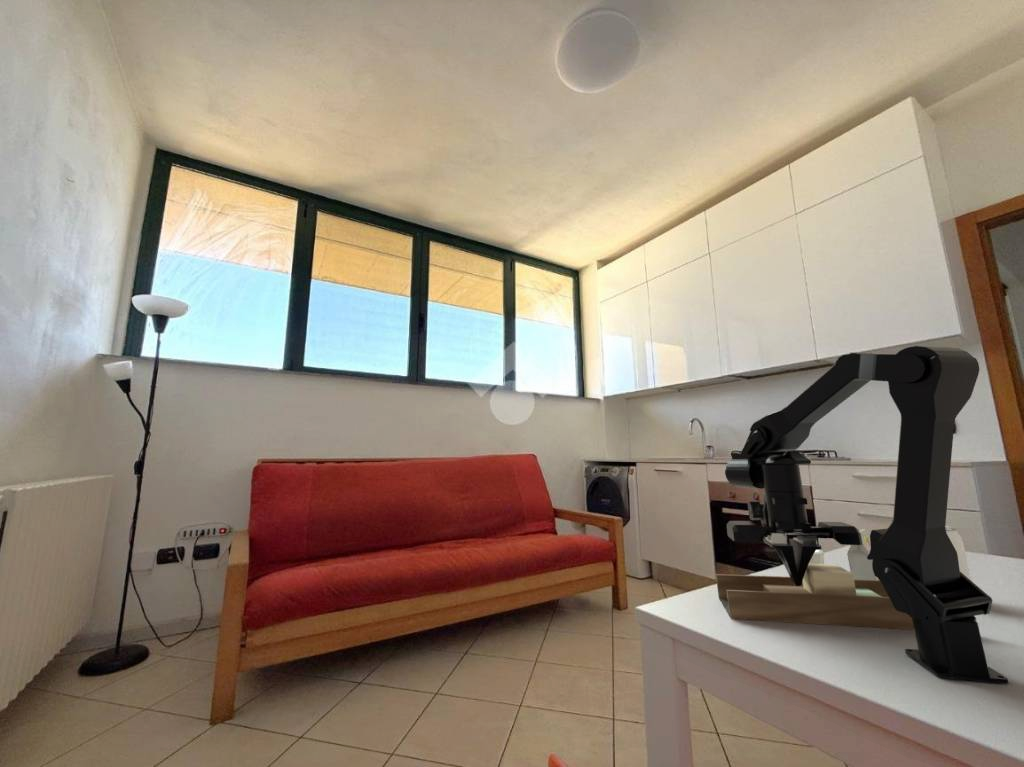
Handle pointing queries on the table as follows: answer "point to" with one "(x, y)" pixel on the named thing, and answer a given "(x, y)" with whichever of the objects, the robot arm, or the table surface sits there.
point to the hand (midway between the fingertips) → (797, 585)
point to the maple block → (828, 580)
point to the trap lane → (808, 603)
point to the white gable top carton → (861, 558)
